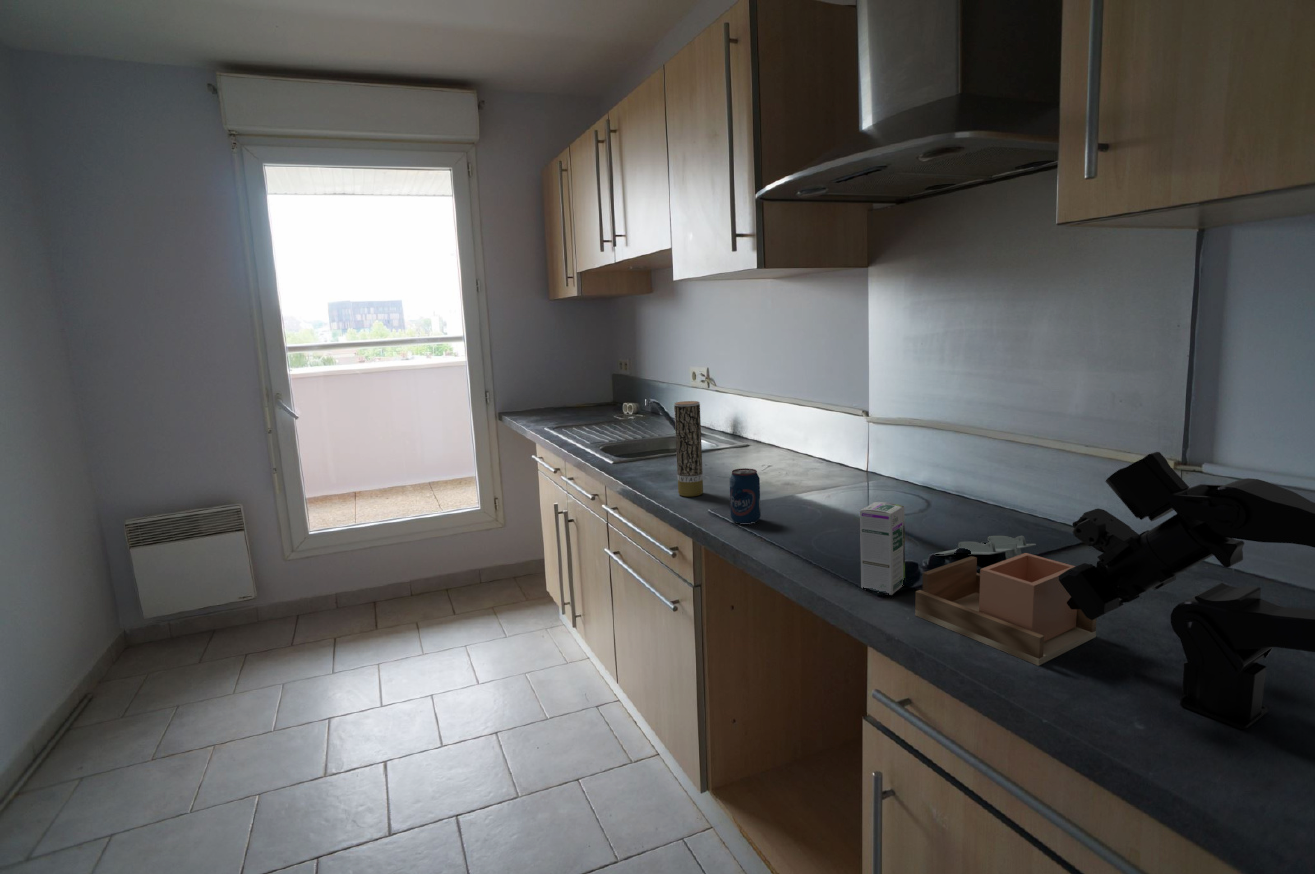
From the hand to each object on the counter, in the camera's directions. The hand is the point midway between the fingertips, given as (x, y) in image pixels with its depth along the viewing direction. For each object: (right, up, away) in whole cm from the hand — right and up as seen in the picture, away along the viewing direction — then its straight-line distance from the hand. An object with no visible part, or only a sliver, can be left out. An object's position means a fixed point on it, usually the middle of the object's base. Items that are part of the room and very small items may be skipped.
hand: (1070, 605), depth 97 cm
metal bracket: (+6, 0, +38) cm, 38 cm away
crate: (-3, -5, +6) cm, 8 cm away
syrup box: (-17, -3, +26) cm, 32 cm away
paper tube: (-48, +7, +95) cm, 106 cm away
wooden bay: (-5, -5, +10) cm, 12 cm away
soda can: (-36, +3, +68) cm, 77 cm away
